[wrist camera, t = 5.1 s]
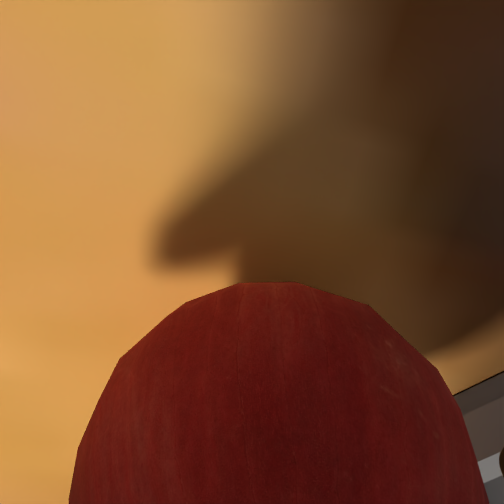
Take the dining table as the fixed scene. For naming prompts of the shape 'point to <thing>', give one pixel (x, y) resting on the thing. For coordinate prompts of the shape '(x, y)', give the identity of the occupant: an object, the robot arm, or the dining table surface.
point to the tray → (486, 431)
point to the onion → (275, 410)
